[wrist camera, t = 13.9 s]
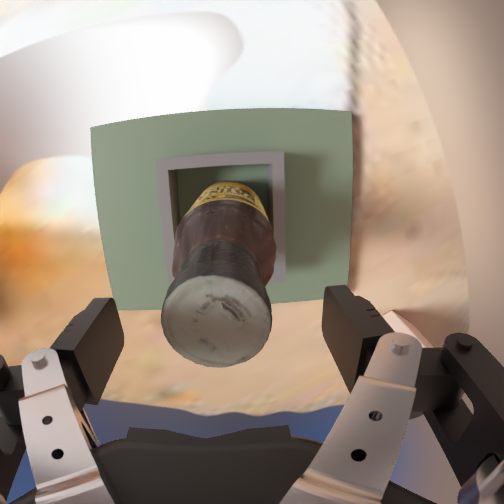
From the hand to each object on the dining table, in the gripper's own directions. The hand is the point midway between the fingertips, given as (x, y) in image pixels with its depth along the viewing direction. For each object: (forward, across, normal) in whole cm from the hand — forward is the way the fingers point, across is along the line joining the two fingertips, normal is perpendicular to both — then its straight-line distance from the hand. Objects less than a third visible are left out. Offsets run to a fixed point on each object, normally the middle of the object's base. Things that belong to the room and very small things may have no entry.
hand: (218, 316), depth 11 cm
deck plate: (+21, 0, 0) cm, 21 cm away
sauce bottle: (+19, 0, 0) cm, 19 cm away
